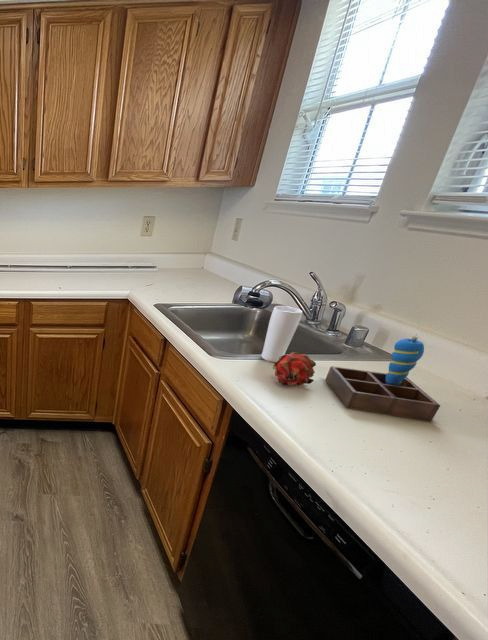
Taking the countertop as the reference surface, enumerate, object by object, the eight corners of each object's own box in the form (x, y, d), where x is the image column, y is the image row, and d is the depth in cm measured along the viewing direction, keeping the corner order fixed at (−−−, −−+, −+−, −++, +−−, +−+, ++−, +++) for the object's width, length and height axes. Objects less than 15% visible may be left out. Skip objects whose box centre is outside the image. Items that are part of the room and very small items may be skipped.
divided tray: (398, 390, 104) (405, 376, 102) (431, 421, 91) (440, 405, 89) (324, 380, 109) (330, 365, 107) (346, 407, 96) (353, 392, 94)
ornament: (371, 391, 101) (399, 333, 95) (375, 385, 105) (402, 328, 98) (400, 399, 98) (430, 340, 91) (402, 392, 101) (432, 334, 95)
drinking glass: (254, 353, 124) (269, 304, 118) (279, 355, 123) (296, 306, 116) (262, 362, 118) (279, 311, 112) (289, 365, 117) (308, 313, 110)
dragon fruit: (293, 380, 112) (285, 402, 104) (269, 357, 113) (259, 377, 106) (325, 363, 105) (319, 385, 98) (299, 339, 106) (291, 359, 99)
